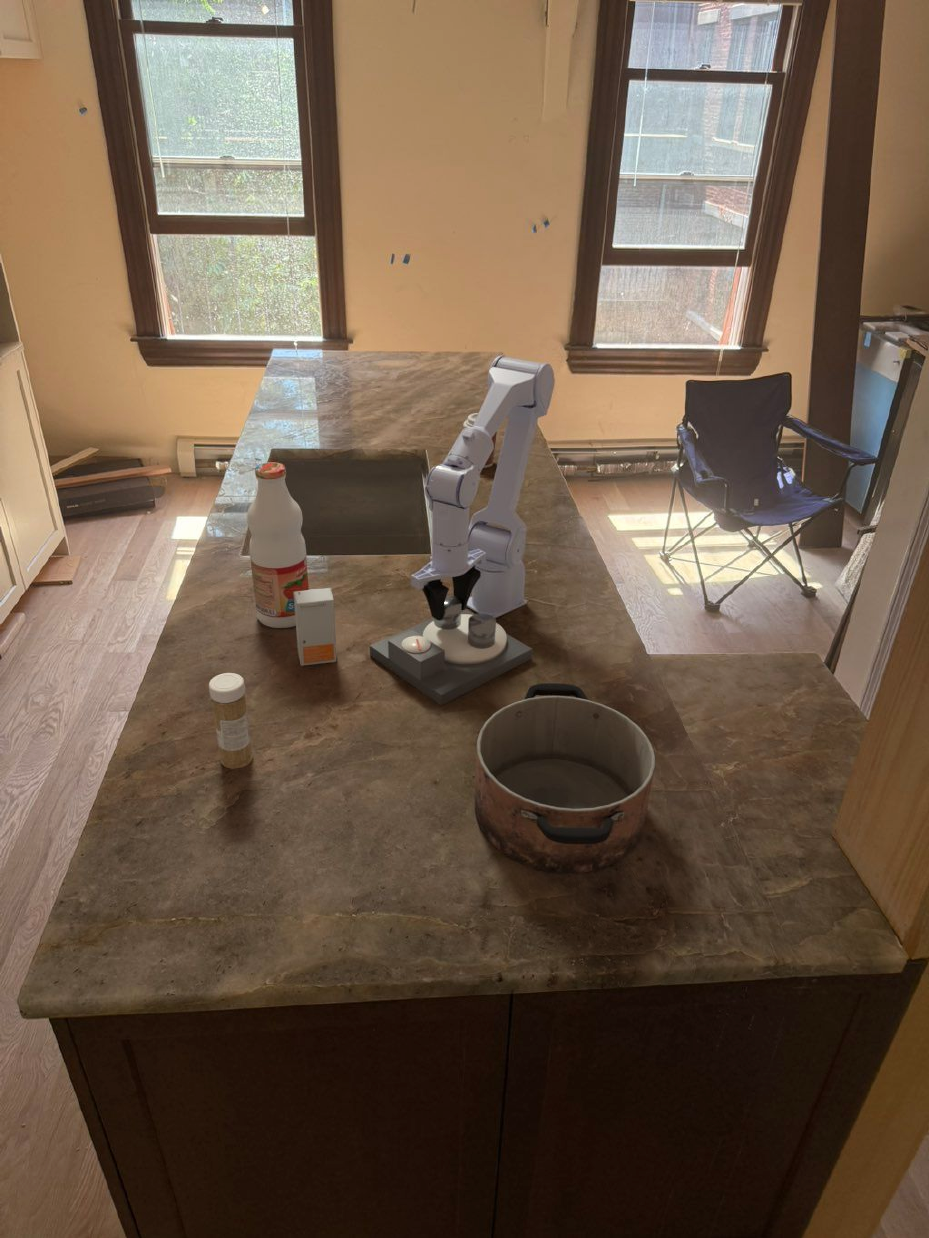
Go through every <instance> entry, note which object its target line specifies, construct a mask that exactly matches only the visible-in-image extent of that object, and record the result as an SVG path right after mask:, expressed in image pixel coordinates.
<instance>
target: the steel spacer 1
mask: <svg viewBox="0 0 929 1238" xmlns="http://www.w3.org/2000/svg"><path fill="white" fill-rule="evenodd" d="M461 606H462V601H461V599H459V598H458V597H456V596H454V595H453V594H447V595H446V599H445V604H444V616H443V620H440V621H439V620H437V619H435V618H434V617H433V618H434V624H435V625H436V626H437V627H438V628H441V629H446V630H450V629H455V628H457V627H459V626H460V624H461Z"/></svg>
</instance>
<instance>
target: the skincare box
mask: <svg viewBox="0 0 929 1238" xmlns="http://www.w3.org/2000/svg"><path fill="white" fill-rule="evenodd" d="M293 593H294V605H295V619H296V626H295V630H296V645H297V653H298V659H299V662H300V663H299V665H300V666H301V667H303V666H311V665H319V664H327V663H328V664H329V663H336V662H337V644H336V643H337V641H336V638H337V637H336V622H335V621H336V617H335V615H336V614H335V600H334V599H335V598H334V596H333V592H332V588H331V587H326V588H311V589H309V590H305V591H295V592H293Z"/></svg>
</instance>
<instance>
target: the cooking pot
mask: <svg viewBox="0 0 929 1238" xmlns="http://www.w3.org/2000/svg"><path fill="white" fill-rule="evenodd" d="M650 741H651V740H649V738H648V736H647V734H645V732H644V731H643V730H642V729H641V727H640V726H639V725H638V724H636V722H634V721H633V720H631V718H629V717H628V716H626V715H625V714H623V713H621V712H620V711H617V710H616V709H614V708H611V707H610V706H607V705H605V704H603V703H600V702H596V701H594V700H593V701H592V700H590V699H589V698H588V697H587V695H586V694H585V692H584V690H583V689H582V688H581V687H580V686H577V685H574V684H569V683H559V682H558V683H557V682H556V683H555V682H554V683H553V682H549V683H547V682H546V683H543V682H542V683H537V684H533V685H530V687H529V688H528V690H527V692H526V694H525V697H524V699H522V700H518V701H515V702H513V703H511V704H508V705H506V706H503V707H502V708H500V709H499V710H497V711H496V712H494V713H493V714H492V715H491V716H490V717H489V718H488V719H487V720H486V721H485V722H484V724H483V726H482V727H481V729H480V731H479V734H478V737H477V741H476V759H475V779H474V814H475V817H476V822H477V824H478V826H479V827H480V829H481V832H482V833H483V834H484V836H485V837H486V839H488V840H489V842H490V843H491V844H492V846H494V847H495V848H496V849H498V850H499V851H500V852H502V853H503V854H504V855H505V856H507V857H509V858H510V859H512V860H514V861H516V862H518V863H520V864H522V865H525V866H528V867H530V868H534V869H536V870H541V871H545V872H548V873H556V874H557V873H559V874H580V873H588V872H592V871H596V870H600V869H603V868H605V867H608V866H611V865H613V864H615V863H617V862H618V861H620V860H621V859H624V858H625V857H626V856H627V855H628V854H629V853H631V852H632V851H633V849H634V848H635V847H636V845H637V844H638V842H639V840H640V839H641V835H642V833H643V830H644V826H645V823H646V819H647V814H648V813H647V811H648V807H649V806H648V805H649V800H650V797H651V790H652V784H653V779H654V773H655V769H656V768H655V767H656V755H655V751H654V748H653V747H654V746H653V744H652V743H651V742H650Z"/></svg>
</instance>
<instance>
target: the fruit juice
mask: <svg viewBox="0 0 929 1238" xmlns="http://www.w3.org/2000/svg"><path fill="white" fill-rule="evenodd" d="M254 475H255V479H256V480H257V491H256V494H255V499H254V500H253V502H252V503H251V504H250V505H249V506H248V510H247V512H246V523H247V526H248V527H247V528H249V532H250V534H251V537H250V539H249V559H250V568H251V575H252V585H253V593H254V602H255V603H254V604H255V612H256V616H257V618H258V620H259V622H260V623H261V624H262V625H263V626H266V627H270V628H274V629H286V628H287V629H288V628H293V627H296V619H295V605H294V593H293V592H295V591H305V590H310V589H309V588H310V587H309V577H308V576H309V574H308V561H307V560H308V558H307V549H306V547H307V546H306V541H305V538H304V536H303V533H302V531H301V530H302V526H303V520H304V519H303V511H302V509H301V507H300V506H299V504H298V503H297V501H296V500H295V499H293V497H292V496H291V494H290V492H289V490H288V487H287V483H286V480H285V479H286V477H287V470H286V466H285V465H284V464H283V463H280V462H275V461H274V462H273V461H272V462H264V463H260V464H257V465H256V466H255V468H254Z"/></svg>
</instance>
